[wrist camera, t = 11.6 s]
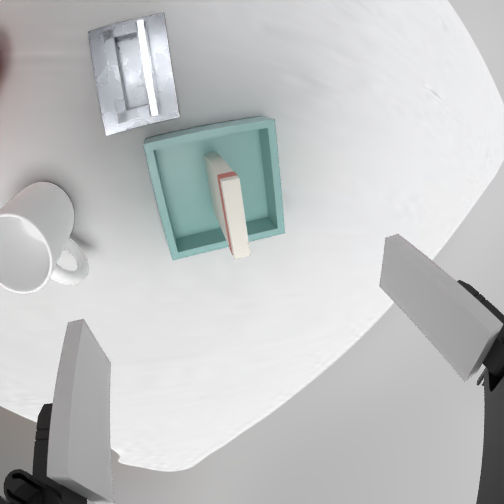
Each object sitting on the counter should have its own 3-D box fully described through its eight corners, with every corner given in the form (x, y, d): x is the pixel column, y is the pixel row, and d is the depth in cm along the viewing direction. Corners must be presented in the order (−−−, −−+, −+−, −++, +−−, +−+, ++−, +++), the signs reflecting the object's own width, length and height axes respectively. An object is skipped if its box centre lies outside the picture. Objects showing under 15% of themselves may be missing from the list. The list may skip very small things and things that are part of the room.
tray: (145, 138, 31) (143, 144, 27) (262, 115, 33) (274, 119, 30) (170, 243, 38) (172, 260, 34) (273, 219, 40) (284, 233, 36)
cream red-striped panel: (203, 153, 33) (221, 181, 24) (216, 151, 33) (239, 177, 24) (213, 212, 36) (234, 259, 27) (225, 209, 37) (250, 255, 27)
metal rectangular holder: (89, 32, 23) (82, 27, 20) (163, 13, 24) (164, 5, 22) (107, 135, 29) (101, 139, 26) (179, 116, 31) (181, 119, 28)
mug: (113, 227, 34) (100, 275, 26) (77, 273, 36) (60, 327, 27) (38, 165, 28) (-1, 195, 20) (6, 218, 29) (-31, 260, 21)
